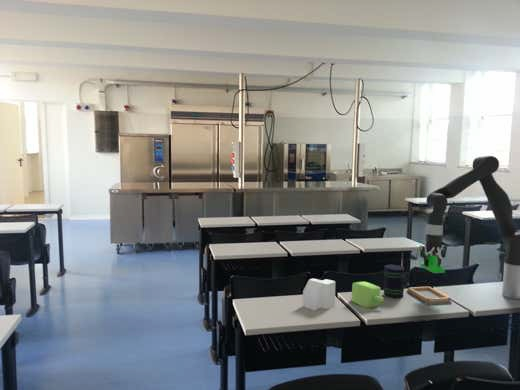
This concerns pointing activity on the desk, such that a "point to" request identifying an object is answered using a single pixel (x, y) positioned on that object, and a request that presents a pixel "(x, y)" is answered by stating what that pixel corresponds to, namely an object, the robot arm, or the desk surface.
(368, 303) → the gearbox
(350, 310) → the desk surface
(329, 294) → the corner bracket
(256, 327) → the desk surface
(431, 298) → the fitting jig
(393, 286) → the storage jar
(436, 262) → the mechanical part
